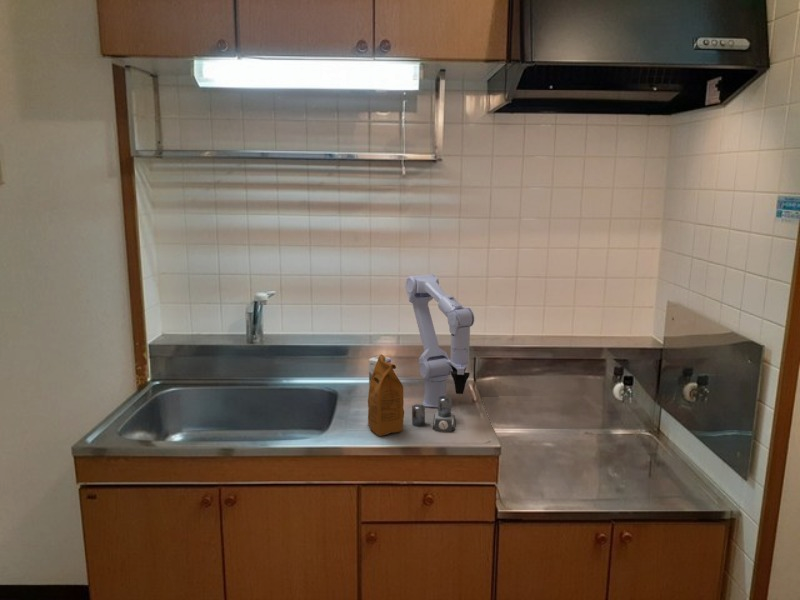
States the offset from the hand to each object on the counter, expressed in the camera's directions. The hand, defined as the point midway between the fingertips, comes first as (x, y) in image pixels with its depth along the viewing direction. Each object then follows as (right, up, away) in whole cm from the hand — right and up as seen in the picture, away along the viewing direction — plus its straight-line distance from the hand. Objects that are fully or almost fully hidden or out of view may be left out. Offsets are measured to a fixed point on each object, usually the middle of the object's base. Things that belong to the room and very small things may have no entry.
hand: (459, 389), depth 183 cm
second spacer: (-13, -10, -2) cm, 16 cm away
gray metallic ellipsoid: (-4, -8, 0) cm, 9 cm away
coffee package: (-23, -11, -5) cm, 26 cm away
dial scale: (-5, -10, -2) cm, 12 cm away
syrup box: (-25, -6, +19) cm, 32 cm away
